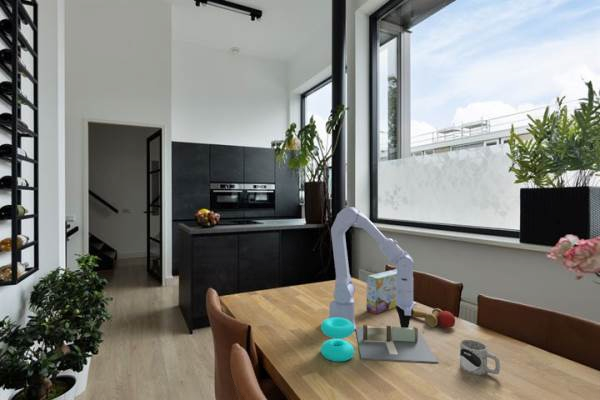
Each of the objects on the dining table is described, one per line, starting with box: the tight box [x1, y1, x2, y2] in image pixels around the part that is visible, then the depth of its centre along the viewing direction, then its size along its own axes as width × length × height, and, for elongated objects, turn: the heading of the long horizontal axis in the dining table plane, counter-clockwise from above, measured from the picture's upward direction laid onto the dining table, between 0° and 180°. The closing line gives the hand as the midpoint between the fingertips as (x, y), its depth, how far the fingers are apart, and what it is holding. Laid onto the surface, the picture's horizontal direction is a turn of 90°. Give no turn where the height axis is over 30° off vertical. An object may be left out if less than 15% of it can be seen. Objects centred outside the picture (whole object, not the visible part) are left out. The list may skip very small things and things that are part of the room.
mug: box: [459, 339, 501, 376], centre depth 88 cm, size 10×7×7 cm, turn 37°
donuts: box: [320, 317, 355, 362], centre depth 97 cm, size 10×10×10 cm
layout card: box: [355, 326, 439, 364], centre depth 104 cm, size 22×22×1 cm
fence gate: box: [391, 326, 419, 342], centre depth 104 cm, size 8×1×4 cm, turn 84°
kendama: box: [411, 308, 456, 329], centre depth 121 cm, size 8×6×18 cm
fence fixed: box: [362, 324, 392, 342], centre depth 105 cm, size 9×1×5 cm, turn 84°
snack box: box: [365, 268, 397, 315], centre depth 137 cm, size 21×6×15 cm, turn 129°
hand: (404, 328), depth 111 cm, fingers closed
